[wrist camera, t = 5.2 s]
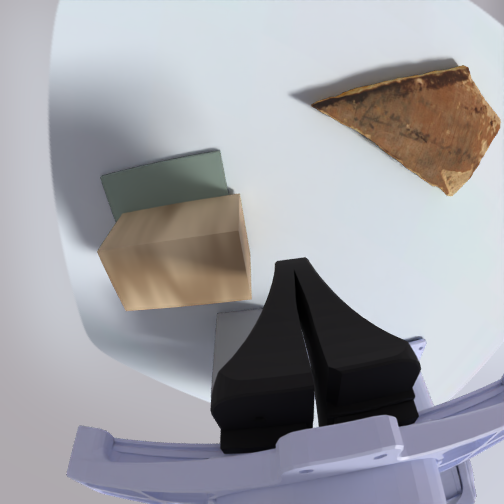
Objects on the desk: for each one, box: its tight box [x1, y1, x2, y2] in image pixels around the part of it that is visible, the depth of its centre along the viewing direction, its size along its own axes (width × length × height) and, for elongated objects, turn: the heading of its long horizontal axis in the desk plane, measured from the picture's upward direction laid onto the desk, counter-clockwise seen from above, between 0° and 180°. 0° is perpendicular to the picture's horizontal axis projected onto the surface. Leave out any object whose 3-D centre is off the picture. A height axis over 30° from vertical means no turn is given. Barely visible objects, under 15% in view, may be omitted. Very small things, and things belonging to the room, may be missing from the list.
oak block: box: [97, 194, 252, 311], centre depth 16 cm, size 4×4×7 cm
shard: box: [311, 65, 501, 196], centre depth 13 cm, size 11×8×2 cm
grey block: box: [211, 308, 263, 396], centre depth 20 cm, size 4×4×7 cm
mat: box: [100, 150, 228, 222], centre depth 18 cm, size 9×7×1 cm
